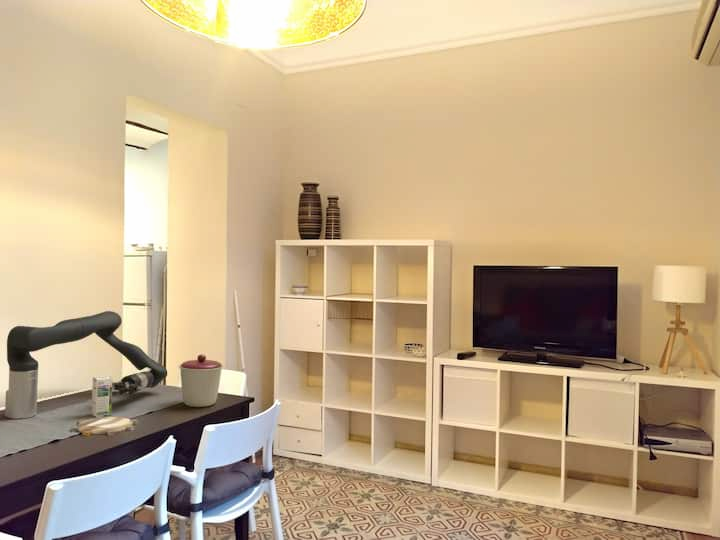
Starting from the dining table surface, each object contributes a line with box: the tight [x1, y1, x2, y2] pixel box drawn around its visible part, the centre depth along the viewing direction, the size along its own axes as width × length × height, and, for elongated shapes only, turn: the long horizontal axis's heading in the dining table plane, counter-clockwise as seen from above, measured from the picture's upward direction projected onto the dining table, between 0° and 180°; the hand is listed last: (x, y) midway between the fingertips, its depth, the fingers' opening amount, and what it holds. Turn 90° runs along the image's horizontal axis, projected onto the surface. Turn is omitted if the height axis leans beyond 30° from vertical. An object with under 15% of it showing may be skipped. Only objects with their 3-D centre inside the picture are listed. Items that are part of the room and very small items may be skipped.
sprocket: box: [70, 415, 139, 437], centre depth 197 cm, size 22×22×1 cm
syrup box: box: [91, 375, 113, 417], centre depth 211 cm, size 6×6×14 cm
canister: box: [178, 354, 224, 408], centre depth 233 cm, size 18×18×21 cm
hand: (109, 391), depth 216 cm, fingers open, 8 cm apart
